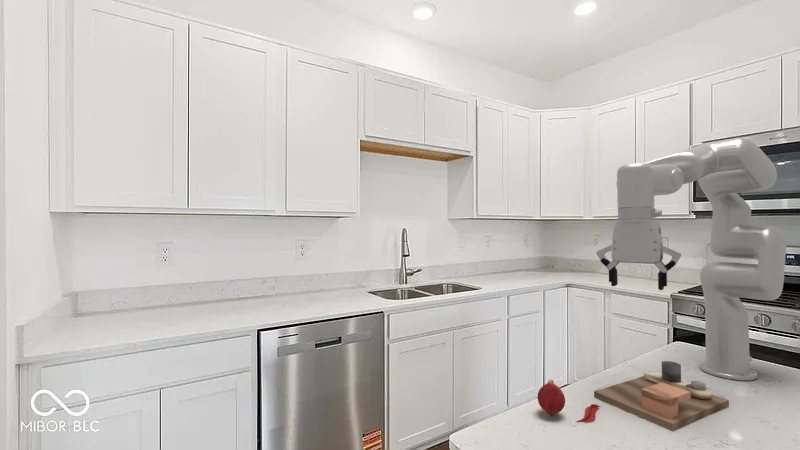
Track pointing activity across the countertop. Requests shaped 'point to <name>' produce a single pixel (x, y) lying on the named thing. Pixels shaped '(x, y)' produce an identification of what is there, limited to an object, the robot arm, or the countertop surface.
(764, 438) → the countertop surface
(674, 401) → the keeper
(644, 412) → the board
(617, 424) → the countertop surface
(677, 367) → the link
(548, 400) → the red rounded oval piece
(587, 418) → the cayenne pepper
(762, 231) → the robot arm
